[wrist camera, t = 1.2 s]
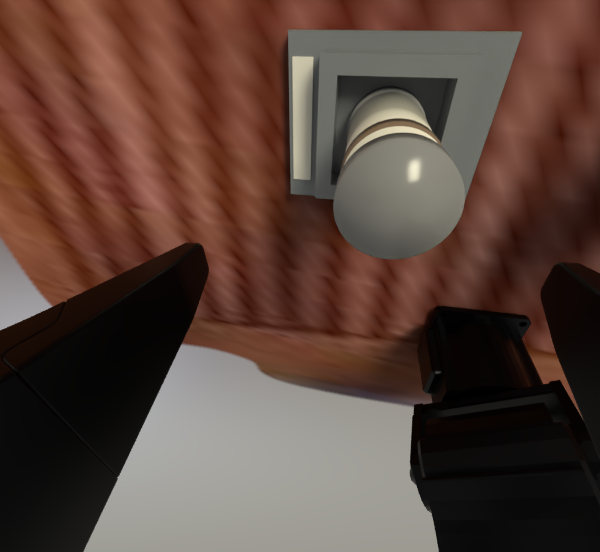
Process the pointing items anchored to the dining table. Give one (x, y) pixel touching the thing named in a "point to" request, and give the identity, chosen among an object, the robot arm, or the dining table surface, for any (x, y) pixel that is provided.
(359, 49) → the socket block
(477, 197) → the dining table surface
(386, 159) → the banded cream cylinder
